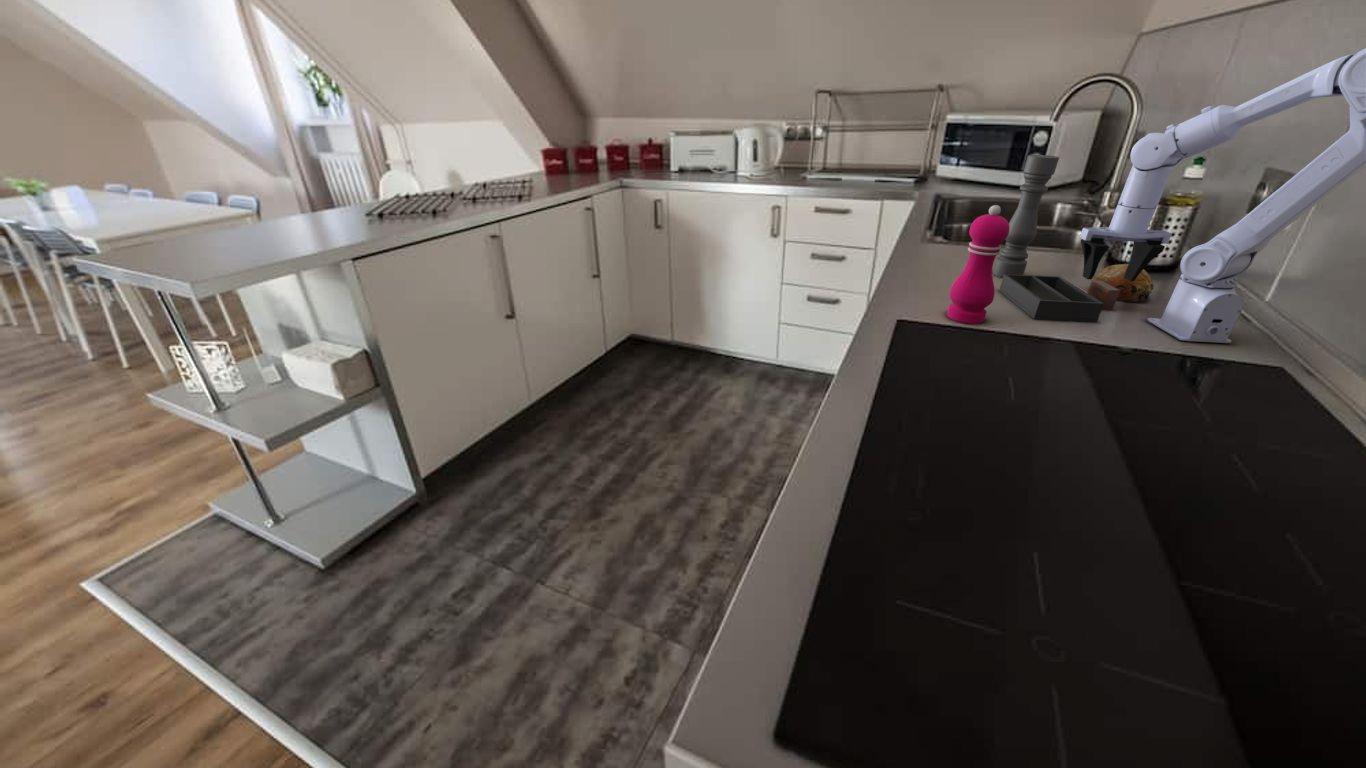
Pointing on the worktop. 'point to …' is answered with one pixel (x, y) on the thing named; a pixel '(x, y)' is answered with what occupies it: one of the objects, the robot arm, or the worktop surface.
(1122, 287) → the bread roll
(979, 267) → the pepper mill
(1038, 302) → the organizer
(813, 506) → the worktop surface
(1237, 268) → the robot arm
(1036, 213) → the candle holder
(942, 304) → the worktop surface
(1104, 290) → the brown block
